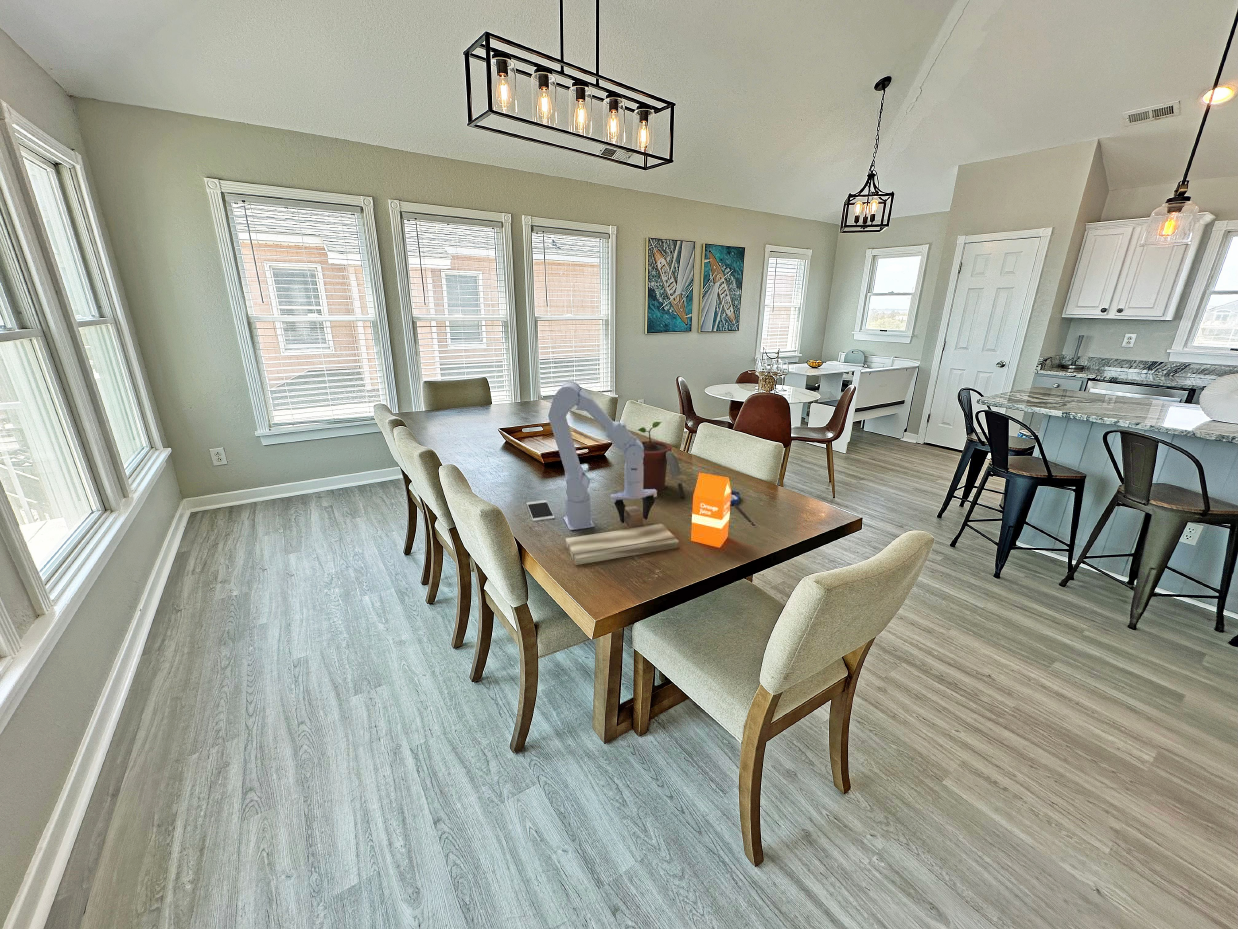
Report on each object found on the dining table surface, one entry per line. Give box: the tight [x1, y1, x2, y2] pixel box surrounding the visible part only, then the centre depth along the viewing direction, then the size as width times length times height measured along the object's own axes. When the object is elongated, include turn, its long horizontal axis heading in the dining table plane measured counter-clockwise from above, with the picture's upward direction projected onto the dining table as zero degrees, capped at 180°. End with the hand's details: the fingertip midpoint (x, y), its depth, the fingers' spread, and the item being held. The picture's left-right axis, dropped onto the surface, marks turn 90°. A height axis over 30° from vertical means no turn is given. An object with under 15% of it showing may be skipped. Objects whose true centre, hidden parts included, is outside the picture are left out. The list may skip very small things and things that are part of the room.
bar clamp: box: [730, 489, 758, 530], centre depth 158 cm, size 32×2×10 cm
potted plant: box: [637, 421, 686, 498], centre depth 174 cm, size 18×22×25 cm
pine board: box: [565, 523, 680, 566], centre depth 137 cm, size 12×30×2 cm, turn 109°
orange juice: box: [690, 472, 732, 548], centre depth 138 cm, size 8×9×20 cm
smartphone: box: [525, 499, 556, 523], centre depth 160 cm, size 7×15×1 cm, turn 18°
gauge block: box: [624, 505, 644, 529], centre depth 149 cm, size 8×4×5 cm, turn 19°
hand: (633, 520), depth 150 cm, fingers open, 7 cm apart
